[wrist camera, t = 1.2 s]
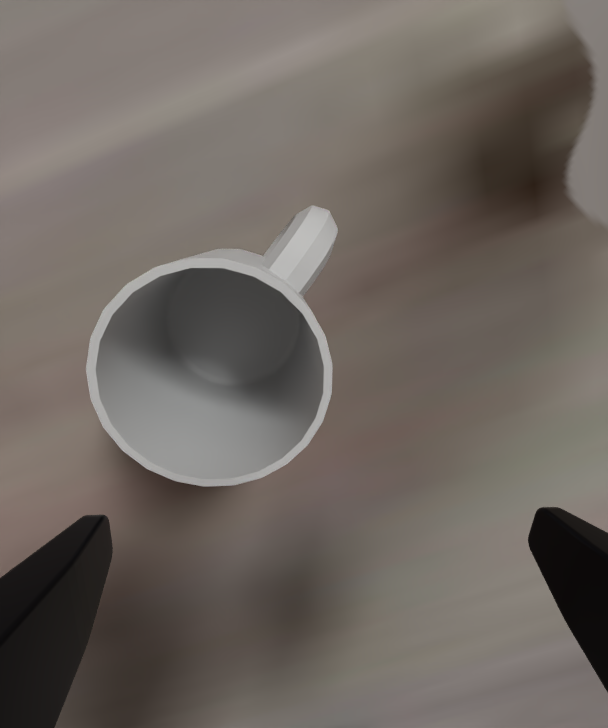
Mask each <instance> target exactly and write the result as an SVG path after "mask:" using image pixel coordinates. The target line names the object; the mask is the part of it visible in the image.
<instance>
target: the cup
mask: <svg viewBox="0 0 608 728" xmlns="http://www.w3.org/2000/svg"><path fill="white" fill-rule="evenodd" d="M337 232H338V229H337V226H336V224H335V222H334V220H333V218H332V216H331V214H330V212H329V210H326V209H323V208H319V207H316V206H313V205H311V206H310V207H308V208H306V209H305V210H303V211H301V212H299V213H298V214H296V215H295V216H294V217H293V218H292V219H291V220H290V221H289V223H288V224H287V225H286V226H285V228H284V229H283V230H282V231H281V233H280V234H279V235H278V237H277V238H276V239H275V241H274V242H273V243H272V245H271V246H270V247H269V249H268V250H267V251H266V253H265V254H264V256H261V255H259V254H255V253H252V252H249V251H246V250H242V249H216V250H212V251H209V252H205V253H201V254H198V255H194V256H191V257H187V258H184V259H181V260H177V261H174V262H171V263H167V264H164V265H161V266H157V267H155V268H153V269H151V270H150V271H148V272H146V273H145V274H143V275H141V276H140V277H138V278H136V279H135V280H133V281H131V282H130V283H128V284H126V285H125V286H124V288H123V289H122V290H121V291H120V292H119V293H118V294H117V295H116V296H115V297H114V298H113V300H112V301H111V302H110V303H109V304H108V305H107V306H106V307H105V308H104V310H103V312H102V314H101V316H100V318H99V321H98V323H97V325H96V327H95V329H94V331H93V333H92V336H91V338H90V344H89V351H88V358H87V365H86V372H87V379H88V385H89V392H90V398H91V401H92V403H93V406H94V408H95V410H96V412H97V414H98V417H99V419H100V421H101V423H102V426H103V427H104V429H105V430H106V431H107V432H108V434H109V435H110V436H111V437H112V438H113V440H114V441H115V442H116V443H117V445H118V446H119V447H120V448H121V449H122V451H124V452H125V453H126V454H128V455H129V456H130V457H132V458H133V459H134V460H136V461H137V462H138V463H140V464H141V465H142V466H144V467H145V468H146V469H148V470H150V471H153V472H155V473H157V474H160V475H162V476H164V477H166V478H169V479H171V480H173V481H177V482H182V483H188V484H193V485H198V486H204V487H207V486H231V485H237V484H241V483H244V482H248V481H252V480H255V479H259V478H262V477H264V476H266V475H268V474H270V473H271V472H273V471H275V470H277V469H279V468H281V467H282V466H284V465H286V464H287V463H289V462H290V461H291V460H292V459H293V458H294V457H295V456H296V455H297V454H298V453H299V452H301V451H302V450H303V449H304V448H305V447H306V446H307V445H308V444H309V442H310V441H311V439H312V437H313V436H314V434H315V433H316V431H317V430H318V428H319V427H320V425H321V423H322V422H323V419H324V416H325V413H326V410H327V407H328V404H329V401H330V397H331V394H332V361H331V357H330V353H329V349H328V344H327V340H326V336H325V334H324V332H323V331H322V329H321V327H320V325H319V324H318V322H317V320H316V318H315V316H314V315H313V313H312V311H311V309H310V308H309V306H308V305H307V303H306V301H305V300H304V298H303V295H304V294H305V293H306V291H307V290H308V289H309V287H310V286H311V285H312V284H313V282H314V281H315V279H316V278H317V276H318V275H319V274H320V272H321V271H322V269H323V268H324V266H325V264H326V262H327V261H328V259H329V257H330V255H331V252H332V249H333V246H334V242H335V239H336V236H337Z"/></svg>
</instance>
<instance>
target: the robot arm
mask: <svg viewBox="0 0 608 728" xmlns="http://www.w3.org/2000/svg"><path fill="white" fill-rule="evenodd" d="M528 542H529V547H530V550H531V552H532V554H533V556H534V558H535V560H536V562H537V564H538V566H539V568H540V570H541V573H542V575H543V577H544V579H545V581H546V583H547V585H548V587H549V589H550V591H551V593H552V595H553V597H554V599H555V601H556V603H557V606H558V608H559V610H560V611H561V613H562V615H563V617H564V619H565V621H566V623H567V625H568V626H569V628H570V630H571V632H572V633H573V635H574V637H575V638H576V640H577V642H578V643H579V645H580V647H581V648H582V650H583V652H584V653H585V655H586V657H587V658H588V660H589V662H590V664H591V665H592V667H593V669H594V670H595V672H596V674H597V675H598V677H599V679H600V680H601V682H602V684H603V685H604V687H605V689H606V690H607V692H608V533H607V532H605V531H603V530H601V529H599V528H597V527H595V526H593V525H592V524H590V523H588V522H586V521H584V520H582V519H580V518H578V517H576V516H574V515H572V514H571V513H569V512H567V511H565V510H563V509H561V508H558V507H542V508H539V509H538V510H537V511H536V514H535V517H534V520H533V523H532V526H531V530H530V533H529V537H528ZM112 549H113V548H112V540H111V532H110V525H109V520H108V517H107V516H105V515H86V516H83V517H82V518H80V519H79V520H77V521H76V522H75V523H73V524H72V525H71V526H69V527H68V528H67V529H65V530H64V531H63V532H61V533H60V534H59V535H57V536H56V537H55V538H53V539H52V540H51V541H49V542H48V543H47V544H45V545H44V546H42V547H41V548H40V549H38V550H37V551H36V552H34V553H33V554H32V555H30V556H29V557H28V558H26V559H25V560H24V561H22V562H21V563H20V564H18V565H17V566H16V567H14V568H13V569H12V570H10V571H9V572H8V573H6V574H5V575H4V576H2V577H1V578H0V728H54V727H55V725H56V722H57V720H58V717H59V715H60V712H61V710H62V707H63V705H64V702H65V700H66V697H67V695H68V692H69V689H70V687H71V684H72V682H73V679H74V677H75V674H76V672H77V669H78V667H79V664H80V662H81V659H82V657H83V654H84V651H85V648H86V646H87V643H88V640H89V637H90V633H91V630H92V627H93V623H94V620H95V616H96V613H97V609H98V605H99V602H100V598H101V595H102V591H103V588H104V584H105V581H106V577H107V574H108V570H109V566H110V563H111V559H112Z"/></svg>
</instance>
